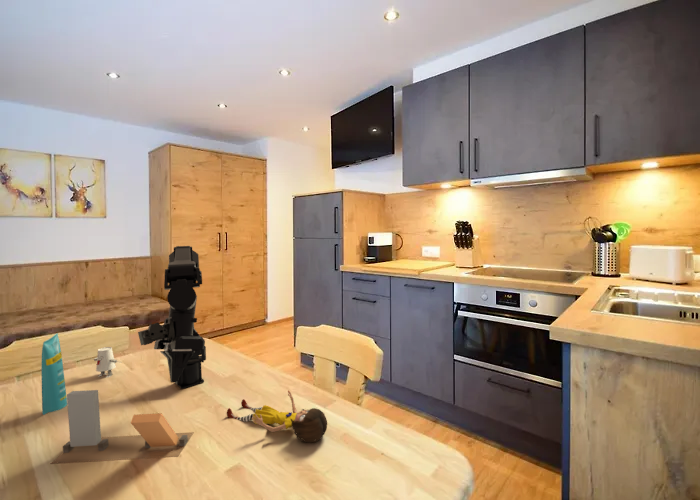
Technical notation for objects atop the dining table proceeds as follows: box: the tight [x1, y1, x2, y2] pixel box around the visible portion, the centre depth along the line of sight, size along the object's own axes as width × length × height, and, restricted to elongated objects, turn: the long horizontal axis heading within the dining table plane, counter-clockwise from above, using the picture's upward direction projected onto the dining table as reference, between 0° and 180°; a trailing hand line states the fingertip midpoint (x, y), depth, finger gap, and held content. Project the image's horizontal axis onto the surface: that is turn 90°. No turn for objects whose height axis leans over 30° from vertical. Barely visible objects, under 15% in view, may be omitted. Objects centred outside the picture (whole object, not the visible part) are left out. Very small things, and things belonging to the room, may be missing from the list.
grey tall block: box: [66, 389, 102, 447], centre depth 70 cm, size 2×5×11 cm, turn 94°
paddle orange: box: [130, 412, 178, 447], centre depth 67 cm, size 2×5×11 cm
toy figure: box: [90, 346, 122, 378], centre depth 109 cm, size 12×6×8 cm, turn 75°
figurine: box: [226, 390, 328, 444], centre depth 79 cm, size 13×8×25 cm
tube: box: [41, 332, 68, 416], centre depth 87 cm, size 7×5×19 cm, turn 26°
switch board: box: [50, 431, 195, 465], centre depth 71 cm, size 8×24×2 cm, turn 94°
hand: (173, 382), depth 79 cm, fingers closed
